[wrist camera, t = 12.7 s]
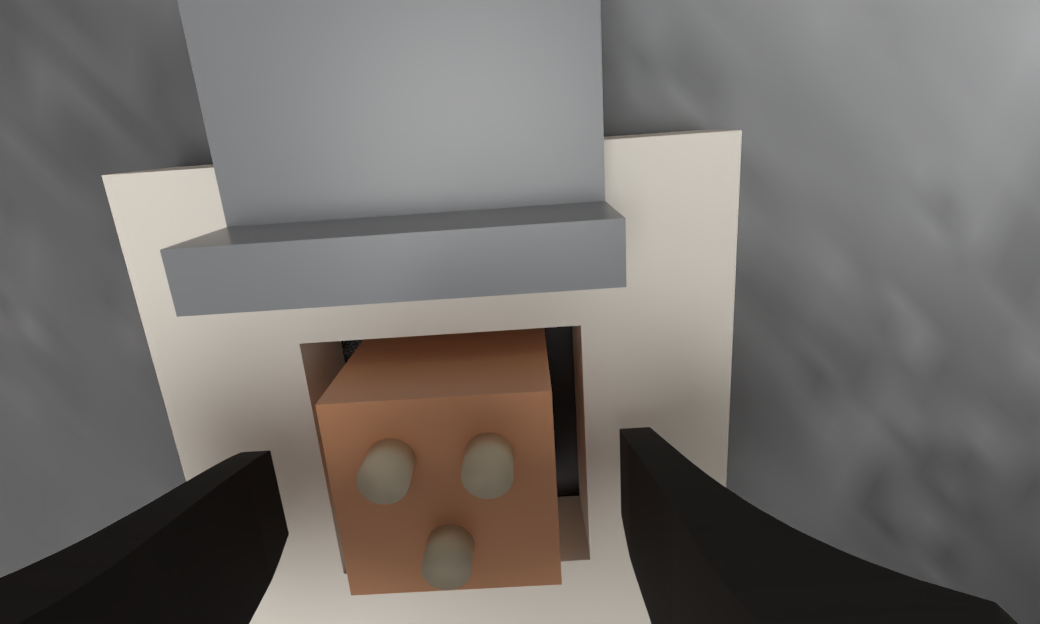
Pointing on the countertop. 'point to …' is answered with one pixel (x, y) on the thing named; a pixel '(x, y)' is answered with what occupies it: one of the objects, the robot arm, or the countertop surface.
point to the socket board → (319, 331)
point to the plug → (444, 462)
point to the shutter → (398, 153)
